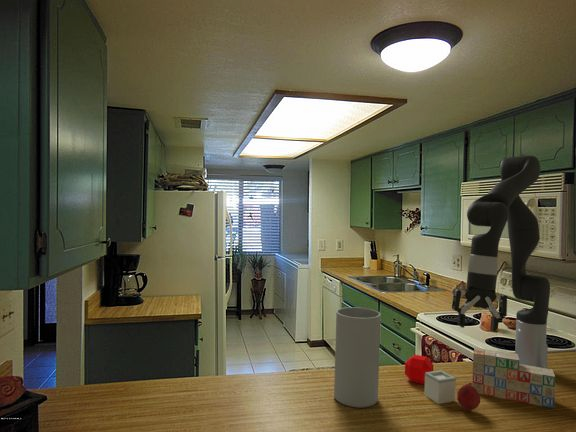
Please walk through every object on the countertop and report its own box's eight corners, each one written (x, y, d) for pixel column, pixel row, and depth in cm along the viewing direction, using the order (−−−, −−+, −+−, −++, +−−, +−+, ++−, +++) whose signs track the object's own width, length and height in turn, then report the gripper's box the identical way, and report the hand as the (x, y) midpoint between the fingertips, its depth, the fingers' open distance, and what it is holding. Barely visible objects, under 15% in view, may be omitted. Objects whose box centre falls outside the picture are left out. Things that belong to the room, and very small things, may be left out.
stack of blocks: (552, 400, 123) (553, 359, 123) (554, 409, 117) (556, 366, 117) (472, 385, 132) (474, 346, 132) (471, 392, 127) (473, 352, 127)
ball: (434, 379, 135) (435, 356, 135) (428, 388, 129) (429, 363, 129) (409, 374, 140) (410, 351, 140) (402, 382, 133) (403, 358, 133)
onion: (469, 418, 111) (470, 388, 111) (452, 408, 116) (453, 380, 116) (484, 413, 113) (485, 384, 113) (466, 404, 118) (467, 376, 118)
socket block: (440, 392, 126) (441, 370, 126) (455, 401, 121) (455, 377, 120) (424, 395, 124) (425, 372, 124) (438, 404, 118) (439, 380, 118)
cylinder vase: (338, 386, 128) (340, 305, 128) (379, 393, 124) (382, 309, 124) (329, 404, 116) (332, 315, 116) (375, 412, 113) (378, 320, 112)
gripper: (502, 273, 121) (497, 329, 121) (452, 267, 123) (447, 322, 122) (514, 276, 114) (509, 335, 113) (460, 270, 115) (455, 328, 115)
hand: (477, 328), depth 118 cm, fingers open, 8 cm apart
